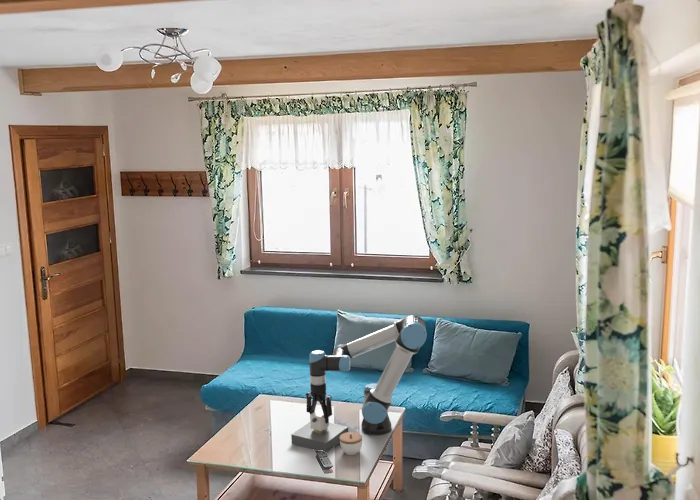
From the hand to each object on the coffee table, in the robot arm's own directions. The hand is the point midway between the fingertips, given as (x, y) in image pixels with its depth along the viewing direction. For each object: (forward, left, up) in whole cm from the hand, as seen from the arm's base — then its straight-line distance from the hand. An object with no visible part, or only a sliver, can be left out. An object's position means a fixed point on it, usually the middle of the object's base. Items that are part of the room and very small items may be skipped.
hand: (319, 427), depth 338 cm
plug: (0, 0, -3) cm, 3 cm away
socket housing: (0, 0, -6) cm, 6 cm away
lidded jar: (-20, +4, -7) cm, 21 cm away
